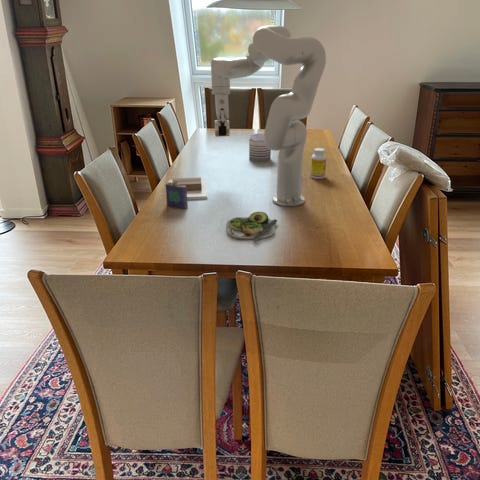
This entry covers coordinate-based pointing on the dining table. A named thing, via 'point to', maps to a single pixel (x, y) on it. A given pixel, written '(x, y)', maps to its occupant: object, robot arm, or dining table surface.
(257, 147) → the can
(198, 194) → the plate
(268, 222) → the salad plate
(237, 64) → the robot arm
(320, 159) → the supplement bottle
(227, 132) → the birch block
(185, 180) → the plinth
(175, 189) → the flask
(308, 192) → the dining table surface
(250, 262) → the dining table surface
